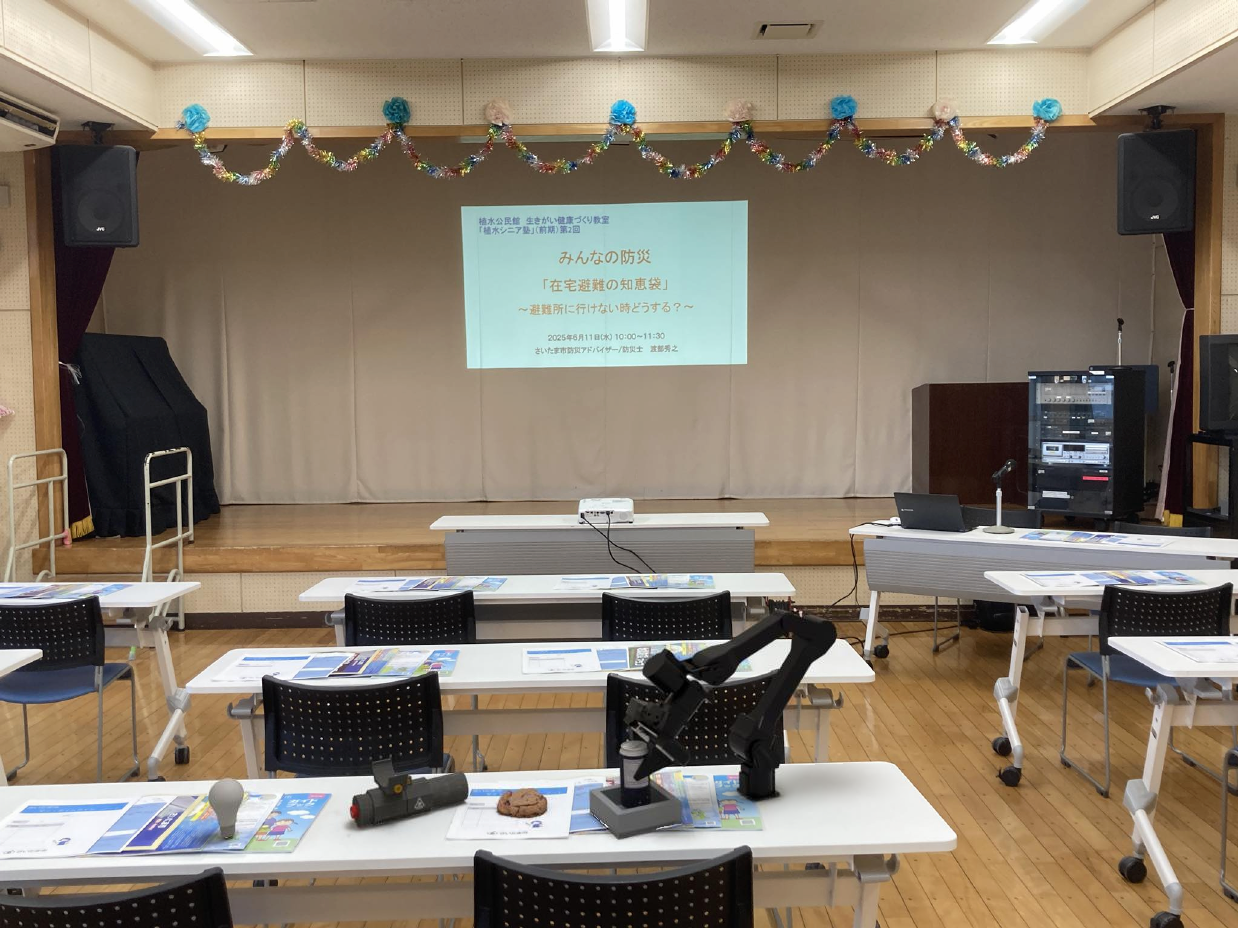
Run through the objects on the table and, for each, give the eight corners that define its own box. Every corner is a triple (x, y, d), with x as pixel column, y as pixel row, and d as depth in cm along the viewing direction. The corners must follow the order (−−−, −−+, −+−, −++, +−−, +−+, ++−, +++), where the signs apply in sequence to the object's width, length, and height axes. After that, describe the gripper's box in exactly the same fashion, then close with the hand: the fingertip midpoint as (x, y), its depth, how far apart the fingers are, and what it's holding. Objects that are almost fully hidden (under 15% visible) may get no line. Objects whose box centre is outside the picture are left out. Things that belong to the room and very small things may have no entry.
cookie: (529, 824, 182) (528, 808, 182) (485, 812, 188) (485, 797, 187) (560, 805, 190) (559, 790, 190) (517, 794, 196) (517, 780, 196)
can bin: (650, 799, 191) (649, 777, 191) (681, 824, 180) (681, 800, 179) (589, 812, 186) (589, 789, 186) (618, 839, 174) (618, 814, 174)
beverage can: (656, 805, 183) (654, 743, 183) (639, 815, 179) (637, 752, 178) (632, 798, 187) (630, 737, 186) (614, 808, 182) (612, 746, 181)
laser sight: (473, 808, 189) (471, 758, 189) (360, 837, 177) (358, 784, 177) (453, 792, 198) (452, 744, 197) (344, 819, 186) (342, 768, 185)
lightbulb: (211, 847, 174) (208, 788, 173) (208, 834, 180) (206, 776, 179) (247, 840, 177) (245, 781, 176) (243, 827, 182) (241, 770, 182)
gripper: (631, 670, 191) (581, 734, 188) (673, 695, 174) (619, 766, 171) (668, 703, 195) (619, 766, 191) (712, 731, 178) (660, 801, 174)
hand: (628, 774), depth 182 cm, fingers closed on beverage can, 6 cm apart
